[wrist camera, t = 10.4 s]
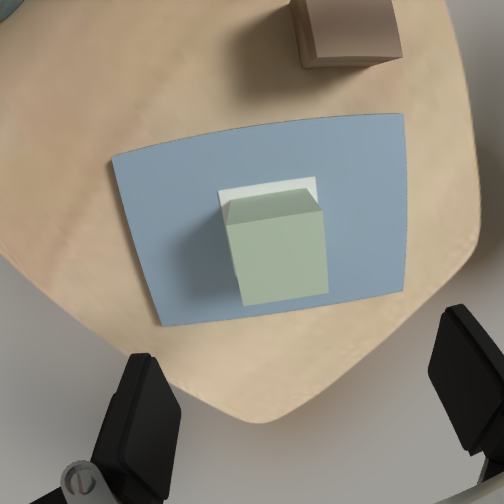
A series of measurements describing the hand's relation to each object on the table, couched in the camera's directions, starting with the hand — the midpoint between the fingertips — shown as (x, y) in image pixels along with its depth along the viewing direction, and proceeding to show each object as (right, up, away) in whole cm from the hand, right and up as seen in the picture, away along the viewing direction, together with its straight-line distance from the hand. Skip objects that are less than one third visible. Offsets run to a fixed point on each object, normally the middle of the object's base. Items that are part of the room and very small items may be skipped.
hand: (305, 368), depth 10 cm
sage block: (0, +5, +12) cm, 14 cm away
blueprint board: (0, +6, +13) cm, 15 cm away
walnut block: (+4, +18, +8) cm, 20 cm away
